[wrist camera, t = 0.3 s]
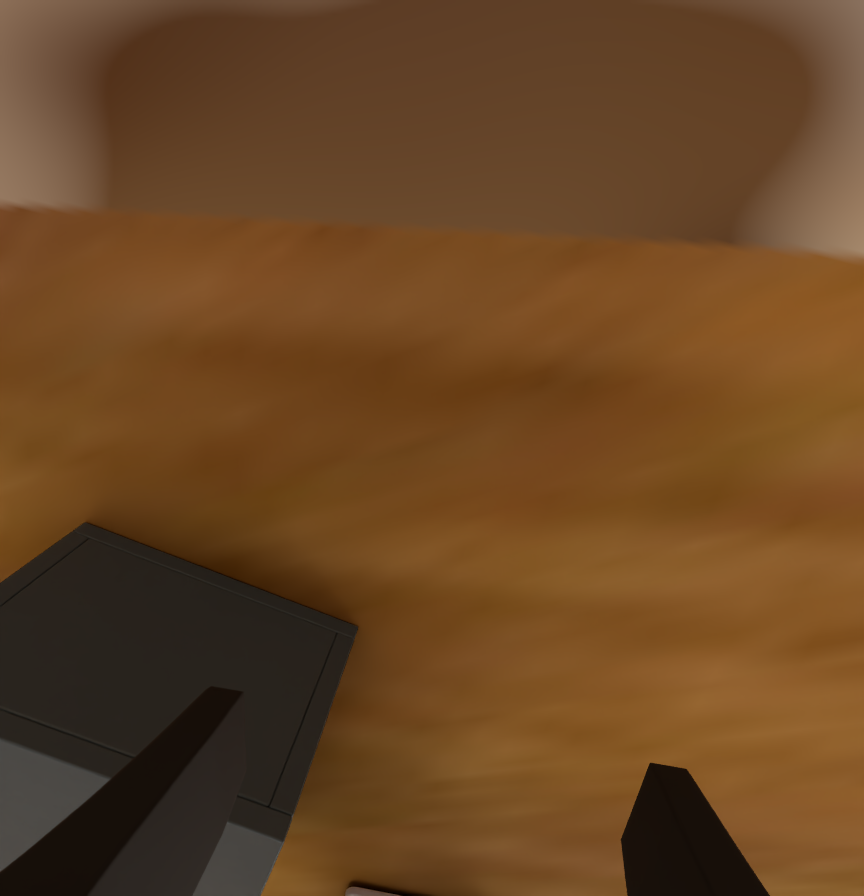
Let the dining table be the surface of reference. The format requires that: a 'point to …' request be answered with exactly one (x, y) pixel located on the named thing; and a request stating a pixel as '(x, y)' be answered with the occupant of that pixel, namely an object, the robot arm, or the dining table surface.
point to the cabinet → (154, 688)
